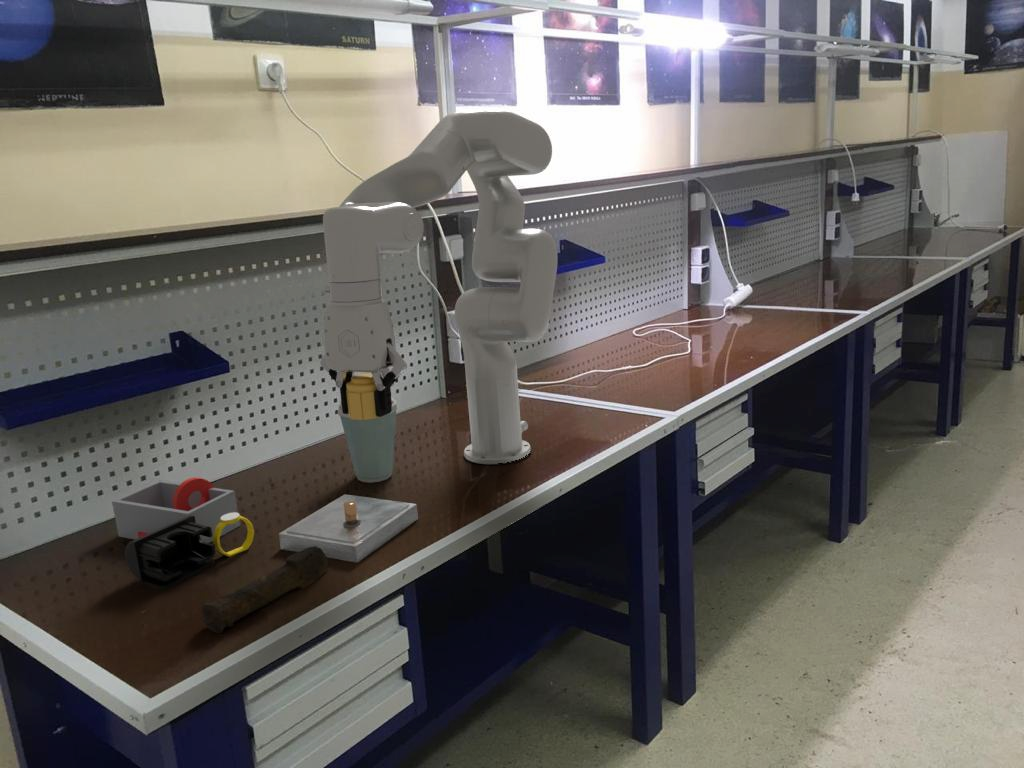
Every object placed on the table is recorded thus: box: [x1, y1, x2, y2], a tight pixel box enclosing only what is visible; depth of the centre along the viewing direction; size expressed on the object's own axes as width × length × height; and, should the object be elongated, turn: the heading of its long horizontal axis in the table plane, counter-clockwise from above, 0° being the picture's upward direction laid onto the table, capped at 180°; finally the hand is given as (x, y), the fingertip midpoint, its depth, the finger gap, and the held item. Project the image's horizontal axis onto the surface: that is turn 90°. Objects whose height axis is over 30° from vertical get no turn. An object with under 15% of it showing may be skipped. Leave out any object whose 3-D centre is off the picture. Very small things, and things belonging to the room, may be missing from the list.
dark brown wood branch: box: [201, 546, 329, 634], centre depth 113 cm, size 19×4×5 cm, turn 141°
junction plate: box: [278, 494, 419, 564], centre depth 132 cm, size 16×14×6 cm
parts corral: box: [111, 479, 241, 544], centre depth 138 cm, size 10×17×6 cm, turn 63°
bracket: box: [138, 476, 215, 538], centre depth 137 cm, size 12×4×8 cm, turn 138°
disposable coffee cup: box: [337, 396, 399, 484], centre depth 155 cm, size 11×11×15 cm
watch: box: [212, 512, 255, 558], centre depth 128 cm, size 6×3×6 cm, turn 137°
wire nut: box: [346, 373, 380, 420], centre depth 129 cm, size 5×5×6 cm
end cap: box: [124, 516, 216, 591], centre depth 123 cm, size 10×7×7 cm
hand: (367, 411), depth 130 cm, fingers closed on wire nut, 5 cm apart
